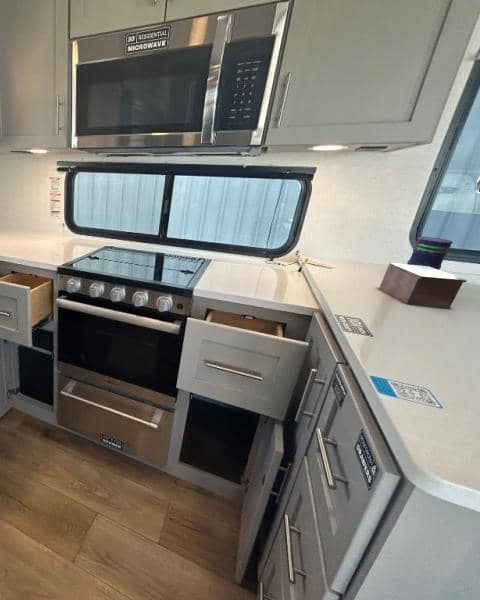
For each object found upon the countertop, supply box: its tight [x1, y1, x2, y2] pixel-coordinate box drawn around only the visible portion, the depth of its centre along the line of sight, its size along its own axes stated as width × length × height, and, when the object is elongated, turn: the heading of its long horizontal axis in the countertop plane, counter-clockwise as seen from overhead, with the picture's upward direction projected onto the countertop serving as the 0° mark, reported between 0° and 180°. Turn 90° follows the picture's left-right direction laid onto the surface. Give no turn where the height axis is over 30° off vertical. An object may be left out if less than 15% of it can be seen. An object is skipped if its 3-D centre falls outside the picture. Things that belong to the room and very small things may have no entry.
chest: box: [378, 264, 464, 309], centre depth 108 cm, size 15×12×9 cm
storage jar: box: [406, 236, 454, 270], centre depth 132 cm, size 10×10×15 cm
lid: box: [388, 262, 468, 283], centre depth 106 cm, size 15×12×1 cm
